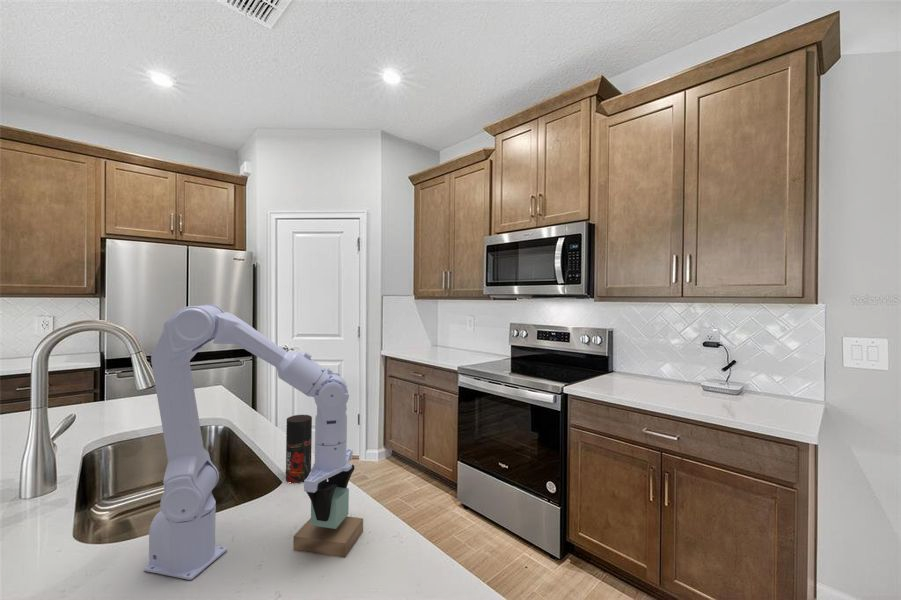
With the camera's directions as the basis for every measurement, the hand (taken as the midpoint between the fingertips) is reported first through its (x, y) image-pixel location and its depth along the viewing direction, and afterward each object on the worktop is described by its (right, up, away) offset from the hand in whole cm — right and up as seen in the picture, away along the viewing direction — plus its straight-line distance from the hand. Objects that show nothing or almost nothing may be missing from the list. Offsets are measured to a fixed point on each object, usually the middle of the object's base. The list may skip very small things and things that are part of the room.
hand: (329, 511), depth 76 cm
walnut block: (0, -6, 0) cm, 6 cm away
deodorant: (-15, -5, +25) cm, 30 cm away
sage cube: (0, -1, 0) cm, 1 cm away
